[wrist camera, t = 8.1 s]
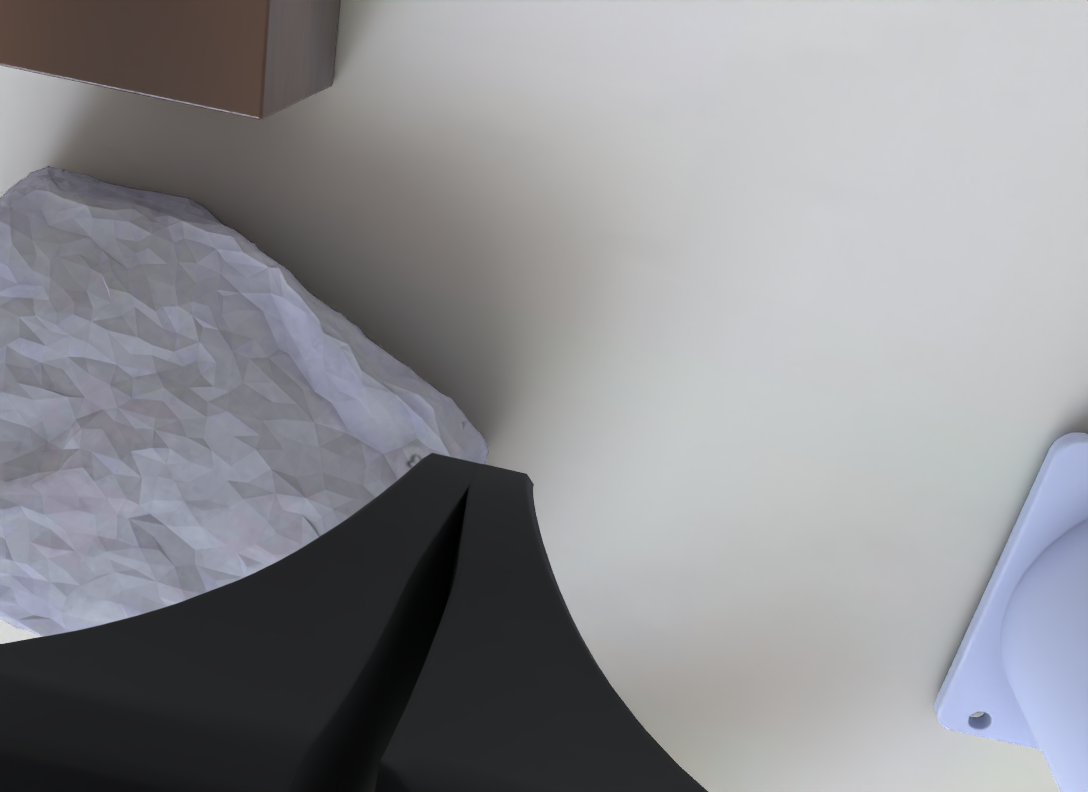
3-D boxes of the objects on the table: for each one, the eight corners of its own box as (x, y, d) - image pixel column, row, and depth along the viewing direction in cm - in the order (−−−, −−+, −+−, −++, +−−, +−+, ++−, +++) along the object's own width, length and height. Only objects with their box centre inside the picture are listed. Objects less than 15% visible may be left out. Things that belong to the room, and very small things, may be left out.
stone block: (75, 107, 22) (-82, 486, 25) (-39, 105, 18) (-219, 572, 20) (550, 356, 24) (365, 687, 26) (559, 412, 20) (334, 810, 22)
